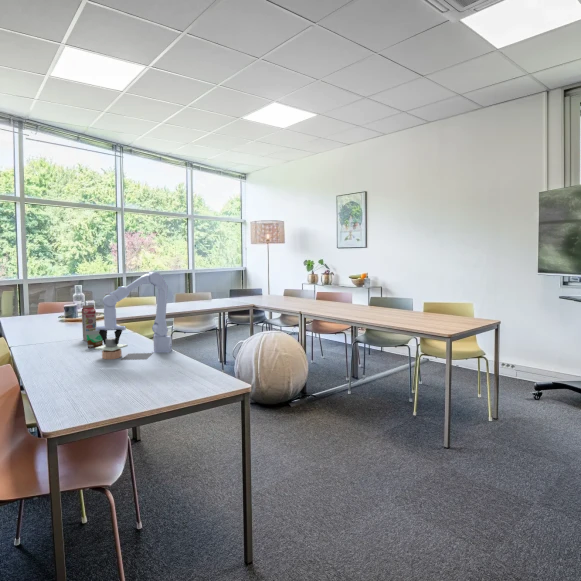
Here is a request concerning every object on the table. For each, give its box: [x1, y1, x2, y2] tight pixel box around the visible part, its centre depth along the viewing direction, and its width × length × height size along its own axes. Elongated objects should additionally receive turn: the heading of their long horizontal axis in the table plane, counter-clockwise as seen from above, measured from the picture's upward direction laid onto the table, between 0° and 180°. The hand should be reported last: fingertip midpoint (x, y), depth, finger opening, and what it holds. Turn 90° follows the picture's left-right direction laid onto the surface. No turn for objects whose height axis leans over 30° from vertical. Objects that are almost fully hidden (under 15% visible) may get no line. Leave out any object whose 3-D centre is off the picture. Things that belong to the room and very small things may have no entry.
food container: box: [86, 330, 104, 349], centre depth 241 cm, size 12×6×10 cm, turn 168°
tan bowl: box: [101, 348, 123, 360], centre depth 215 cm, size 9×9×4 cm
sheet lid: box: [94, 337, 128, 351], centre depth 214 cm, size 11×11×5 cm
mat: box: [120, 352, 154, 361], centre depth 216 cm, size 13×13×1 cm
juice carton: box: [81, 304, 97, 342], centre depth 258 cm, size 7×7×22 cm
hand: (111, 344), depth 214 cm, fingers closed on sheet lid, 5 cm apart
